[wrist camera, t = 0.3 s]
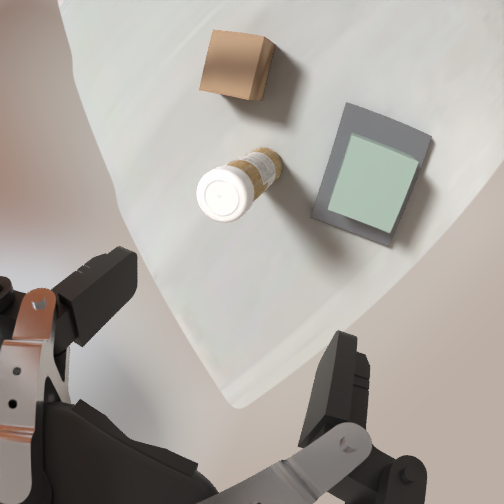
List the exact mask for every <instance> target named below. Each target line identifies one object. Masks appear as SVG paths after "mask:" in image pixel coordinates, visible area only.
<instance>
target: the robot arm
mask: <svg viewBox="0 0 504 504" xmlns="http://www.w3.org/2000/svg"><path fill="white" fill-rule="evenodd" d="M136 288H137V254H136V253H135V252H132V251H130V250H128V249H125V248H123V247H121V246H119V247H116V248H115V249H114V250H112V251H111V252H109V253H108V254H102V255H99V256H96V257H94V258H92V259H91V260H89V261H88V262H87V263H85V265H84V266H81V267H80V268H79V269H78V270H77V271H75V272H73V273H72V274H71V275H69V276H68V277H67V278H65V279H64V280H63V281H62V282H60V283H59V284H58V285H56V286H55V287H54V288H53V289H51V290H49V289H46V288H37V289H34V290H31V291H30V292H28V293H27V294H26V293H22V292H18V291H15V290H13V287H12V284H11V281H10V279H8V278H7V277H3V276H0V504H313V503H314V502H315V501H316V500H317V499H318V498H319V497H320V496H321V495H323V494H324V493H325V492H329V493H330V494H332V495H334V496H336V497H337V498H339V499H341V500H343V501H345V504H424V502H425V494H426V484H427V471H426V468H425V466H424V465H423V463H422V462H421V461H420V460H419V459H417V458H416V457H414V456H408V455H405V456H401V457H399V458H398V459H394V458H392V457H390V456H388V455H387V454H385V453H383V452H381V451H380V450H378V449H377V448H376V447H374V446H373V444H372V441H371V438H370V435H369V434H368V432H367V431H366V420H367V409H368V396H369V391H368V389H369V378H370V365H369V362H368V360H367V358H366V355H365V354H362V353H359V352H357V351H356V350H357V337H356V336H354V335H351V334H347V333H345V332H342V331H339V330H338V331H337V332H336V333H335V335H334V336H333V338H332V340H331V342H330V344H329V346H328V347H327V349H326V351H325V353H324V354H323V356H322V358H321V360H320V363H319V365H318V368H317V371H316V375H315V380H314V384H313V388H312V392H311V397H310V401H309V405H308V409H307V413H306V418H305V421H304V425H303V428H302V432H301V436H300V440H299V444H298V447H301V448H304V449H302V450H301V451H299V452H297V453H296V454H294V455H293V456H291V457H290V458H288V459H286V460H281V461H279V462H277V463H275V464H273V465H271V466H270V467H268V468H266V469H264V470H263V471H261V472H259V473H257V474H255V475H253V476H252V477H250V478H248V479H246V480H244V481H242V482H240V483H238V484H236V485H234V486H232V487H231V488H229V489H226V490H224V491H222V492H220V493H219V492H218V491H217V490H216V488H215V487H214V486H213V484H212V483H211V482H210V481H209V480H208V479H207V478H205V476H203V475H202V474H201V473H200V472H198V471H197V467H198V463H196V462H193V461H191V460H189V459H186V458H184V457H182V456H180V455H178V454H175V453H174V452H171V451H169V450H167V449H165V448H160V447H156V446H152V445H149V444H145V443H141V442H137V441H134V440H131V439H130V438H128V437H127V436H126V435H125V434H124V433H123V432H122V431H120V430H119V429H118V428H117V427H116V426H115V425H114V424H113V423H112V422H111V421H110V420H109V419H108V418H107V416H106V415H104V414H102V413H101V412H99V411H98V410H96V409H95V408H93V407H91V406H90V405H89V404H87V403H86V402H84V401H83V400H81V399H80V400H79V401H78V402H77V403H76V405H74V404H71V401H70V396H69V392H68V375H69V356H70V347H69V345H70V344H71V343H72V342H73V341H74V342H75V343H77V344H78V345H80V346H81V347H83V346H84V345H85V344H86V343H87V342H88V341H89V340H90V339H91V338H92V337H93V336H94V335H95V334H96V333H97V332H98V331H99V330H100V329H101V328H102V327H103V326H104V325H105V324H106V323H107V322H108V321H109V320H110V319H111V317H113V316H114V315H115V314H116V312H118V311H119V310H120V309H121V308H122V307H123V306H124V305H125V304H126V303H127V302H128V301H129V300H130V299H131V298H132V296H133V295H134V293H135V291H136Z"/></svg>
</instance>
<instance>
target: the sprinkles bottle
mask: <svg viewBox="0 0 504 504" xmlns="http://www.w3.org/2000/svg"><path fill="white" fill-rule="evenodd" d="M281 172H282V162H281V159H280V158H279V156H278V155H277V153H276V152H274V151H273V150H271V149H268V148H258V149H255V150H253V151H252V152H251V153H248V154H246V155H244V156H242V157H240V158H238V159H236V160H233V161H231V162H230V163H228V164H227V165H225V166H219V167H217V168H215V169H213V170H211V171H209V172H208V173H206V174H205V175H204V176H203V177H202V179H201V180H200V182H199V184H198V187H197V199H198V203H199V205H200V207H201V209H202V210H203V212H204V213H205V214H206V215H207V216H208V217H210V218H211V219H213V220H215V221H218V222H232V221H235V220H237V219H239V218H240V217H241V216H242V215H244V214H245V213H246V212H247V210H248V209H249V208H250V207H251V205H252V203H253V202H254V200H256V199H257V198H258V197H259V196H260V195H261V194H262V193H264V192H265V191H266V190H267V189H268V188H269V187H270V186H271V184H272V183H273V182H275V181H276V180H277V179H278V178H279V177H280V175H281Z"/></svg>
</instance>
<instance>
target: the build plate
mask: <svg viewBox="0 0 504 504" xmlns="http://www.w3.org/2000/svg"><path fill="white" fill-rule="evenodd" d="M431 137H432V136H430V135H428V134H426V133H424V132H421V131H419V130H417V129H415V128H412V127H410V126H408V125H405V124H403V123H401V122H398V121H396V120H393V119H391V118H388V117H386V116H383V115H381V114H378V113H375V112H373V111H370V110H367V109H364V108H362V107H359V106H356V105H353V104H350V103H347V102H346V105H345V108H344V112H343V115H342V118H341V122H340V125H339V128H338V132H337V135H336V138H335V142H334V145H333V148H332V151H331V155H330V158H329V161H328V164H327V167H326V171H325V174H324V177H323V180H322V183H321V186H320V189H319V192H318V195H317V199H316V202H315V205H314V208H313V211H312V214H311V218H314V219H317V220H319V221H322V222H325V223H328V224H331V225H333V226H336V227H339V228H341V229H344V230H347V231H350V232H352V233H355V234H358V235H360V236H363V237H365V238H368V239H371V240H373V241H376V242H378V243H381V244H384V245H386V246H388V245H389V243H390V241H391V239H392V237H393V234H394V232H395V230H396V228H397V225H398V223H399V221H400V218H401V216H402V214H403V211H404V209H405V207H406V204H407V202H408V199H409V197H410V194H411V192H412V189H413V187H414V184H415V182H416V179H417V176H418V174H419V171H420V168H421V166H422V163H423V160H424V158H425V155H426V152H427V149H428V146H429V143H430V140H431Z"/></svg>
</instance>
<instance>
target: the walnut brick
mask: <svg viewBox="0 0 504 504" xmlns="http://www.w3.org/2000/svg"><path fill="white" fill-rule="evenodd" d="M275 46H276V45H275V44H274V43H273V42H271V41H270V40H269V39H267V38H266V37H264V36H258V35H252V34H245V33H238V32H230V31H221V30H213V32H212V36H211V40H210V44H209V48H208V52H207V57H206V61H205V65H204V70H203V74H202V79H201V84H200V88H199V90H201V91H207V92H212V93H218V94H223V95H228V96H232V97H237V98H242V99H246V100H262V97H263V93H264V89H265V85H266V81H267V77H268V73H269V69H270V65H271V62H272V58H273V54H274V50H275Z"/></svg>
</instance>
